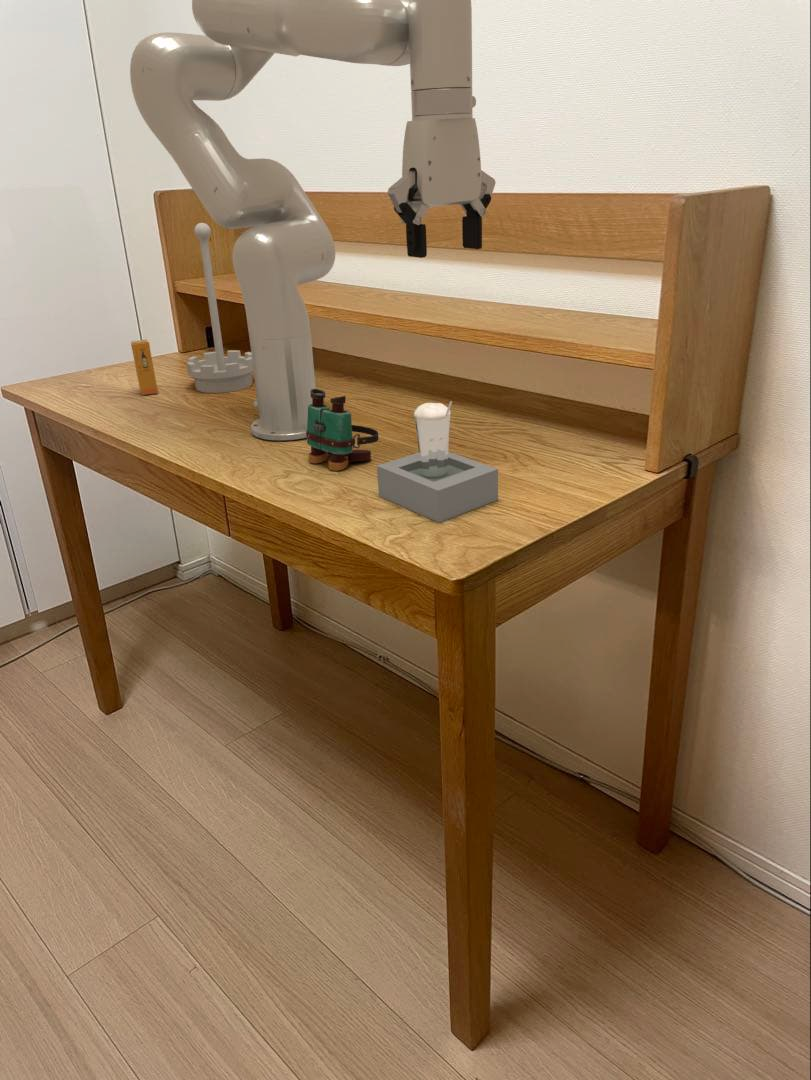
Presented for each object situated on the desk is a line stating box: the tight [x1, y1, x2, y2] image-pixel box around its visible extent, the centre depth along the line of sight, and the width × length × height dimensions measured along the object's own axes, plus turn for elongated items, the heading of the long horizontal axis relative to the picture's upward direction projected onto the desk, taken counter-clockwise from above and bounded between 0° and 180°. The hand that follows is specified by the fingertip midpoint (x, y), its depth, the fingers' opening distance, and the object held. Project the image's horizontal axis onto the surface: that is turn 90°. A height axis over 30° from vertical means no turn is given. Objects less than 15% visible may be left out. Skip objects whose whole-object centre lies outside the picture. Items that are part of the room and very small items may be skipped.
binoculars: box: [306, 388, 379, 471], centre depth 122 cm, size 9×11×10 cm
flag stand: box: [186, 222, 254, 394], centre depth 159 cm, size 13×13×30 cm
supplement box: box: [130, 339, 159, 397], centre depth 160 cm, size 3×3×10 cm
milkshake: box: [413, 400, 453, 478], centre depth 106 cm, size 4×5×10 cm
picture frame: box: [376, 451, 499, 524], centre depth 108 cm, size 12×10×4 cm
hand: (445, 252), depth 111 cm, fingers open, 9 cm apart
